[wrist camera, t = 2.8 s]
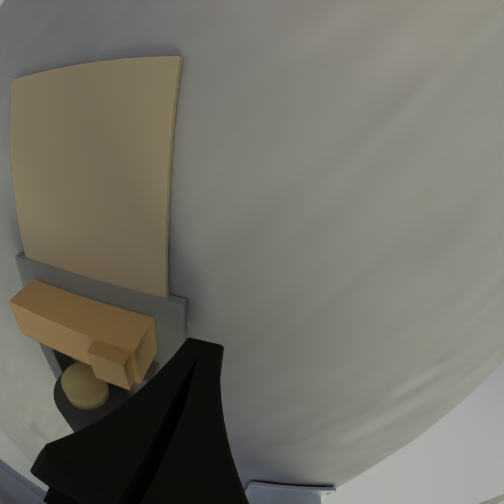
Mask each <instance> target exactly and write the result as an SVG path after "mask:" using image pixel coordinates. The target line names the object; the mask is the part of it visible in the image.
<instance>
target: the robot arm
mask: <svg viewBox="0 0 504 504" xmlns="http://www.w3.org/2000/svg"><path fill="white" fill-rule="evenodd" d="M223 351H224V347H223V346H222V345H220V344H215V343H211V342H206V341H202V340H198V339H194V338H187V339H186V340H185V342H184V343H183V344H182V346H181V347H180V348H179V349H178V351H177V352H176V353H175V354H174V355H173V356H172V358H171V359H170V360H169V361H168V362H167V363H166V364H165V365H164V366H163V367H162V368H161V369H160V370H159V372H158V373H157V374H156V375H155V376H154V377H153V378H152V379H150V380H149V381H148V382H147V383H146V384H145V385H144V386H143V387H142V388H141V389H140V390H138V391H137V392H136V393H135V394H134V395H133V396H131V397H130V398H129V399H128V400H126V401H125V402H124V403H122V404H121V405H120V406H118V407H117V408H115V409H114V410H112V411H111V412H110V413H108V414H107V415H105V416H104V417H102V418H100V419H99V420H97V421H95V422H93V423H92V424H90V425H88V426H86V427H84V428H82V429H80V430H78V431H76V432H74V433H72V434H70V435H68V436H65V437H63V438H60V439H58V440H55V441H53V442H50V443H48V444H46V445H45V447H44V448H43V449H42V451H41V452H40V453H39V455H38V457H37V459H36V460H35V462H34V464H33V466H32V468H31V470H30V471H31V473H32V474H33V475H34V476H35V477H37V478H38V479H39V480H41V481H42V482H43V483H45V484H46V485H48V486H49V489H48V492H46V491H44V490H42V489H41V488H40V487H38V486H37V485H35V484H34V483H32V482H31V481H29V480H28V479H26V478H25V477H24V476H22V475H21V474H19V473H18V472H17V471H15V470H14V469H12V468H11V467H10V466H9V465H7V464H6V463H5V462H4V461H2V460H1V459H0V504H321V501H322V500H324V499H325V498H327V497H328V496H330V495H332V494H333V493H334V492H336V488H334V487H304V486H289V485H278V484H269V483H261V482H250V484H249V485H248V487H247V489H246V491H245V492H244V489H243V487H242V484H241V482H240V479H239V476H238V473H237V470H236V467H235V464H234V460H233V457H232V454H231V450H230V446H229V442H228V438H227V433H226V429H225V423H224V417H223V410H222V402H221V388H220V376H221V367H222V359H223Z"/></svg>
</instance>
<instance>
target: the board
mask: <svg viewBox="0 0 504 504" xmlns="http://www.w3.org/2000/svg"><path fill="white" fill-rule="evenodd" d="M182 61H183V57H182V56H153V57H135V58H123V59H113V60H105V61H97V62H90V63H83V64H77V65H72V66H66V67H61V68H56V69H52V70H47V71H43V72H39V73H35V74H31V75H27V76H23V77H20V78H16V79H13V80H12V87H11V103H10V151H11V167H12V179H13V188H14V197H15V204H16V211H17V217H18V223H19V229H20V234H21V239H22V244H23V248H24V253H25V254H24V253H21V252H20V253H19V254H17V255H16V256H15V257H16V261H17V264H18V268H19V272H20V275H21V279H22V282H23V286H24V287H25V286H26V285H27V284H28V283H29V282H31V281H32V280H33V279H35V280H38V281H41V282H43V283H46V284H49V285H52V286H54V287H57V288H60V289H63V290H66V291H69V292H71V293H74V294H77V295H80V296H83V297H86V298H90V299H93V300H96V301H99V302H102V303H105V304H109V305H112V306H115V307H118V308H122V309H125V310H129V311H132V312H136V313H139V314H143V315H146V316H150V317H154V322H155V333H156V343H157V352H156V354H155V356H154V358H153V360H152V362H151V364H150V366H149V368H148V370H147V372H146V374H145V376H144V378H143V380H142V382H141V384H140V383H137V382H134V384H133V386H132V388H131V390H128V389H125V388H124V389H125V392H126V395H127V398H128V399H129V398H130V397H131V396H133V395H134V394H135V393H136V392H137V391H138V390H140V389H141V388H142V387H143V386H144V385H145V384H146V383H147V382H148V381H149V380H150V379H152V378H153V377H154V376H155V375H156V374H157V373H158V372H159V370H160V369H161V368H162V367H163V366H164V365H165V364H166V363H167V362H168V361H169V360H170V359H171V358H172V356H173V355H174V354H175V353H176V352H177V351H178V349H179V348H180V347H181V346H182V344H183V343H184V342H185V340H186V339H187V299H186V298H182V297H178V296H174V295H169V280H168V239H169V202H170V181H171V164H172V150H173V138H174V127H175V117H176V107H177V98H178V90H179V82H180V75H181V67H182ZM39 343H40V346H41V348H42V350H43V352H44V354H45V357H46V359H47V361H48V363H49V365H50V367H51V369H52V371H53V373H54V375H55V377H56V379H57V380H58V378H59V377H60V375H61V374H62V373H63V372H64V371H65V370H66V369H67V368H68V367H69V366H71V365H73V364H75V363H79V362H82V361H79V360H77V359H75V358H72V357H70V356H68V355H66V354H64V353H61V352H59V351H57V350H55V349H53V348H51V347H49V346H47V345H45V344H43V343H41V342H39Z"/></svg>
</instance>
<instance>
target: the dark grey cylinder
mask: <svg viewBox="0 0 504 504" xmlns="http://www.w3.org/2000/svg"><path fill="white" fill-rule="evenodd" d="M54 400H55V403H56V406H57V408H58V409H59V411H60V412H61V414H62V415H63V417H64V418H65V420H66V421H67V423H68V424H69V425H70V427H71V428H72V430H73V431H74V432H76V431H78V430H80V429H82V428H84V427H86V426H88V425H90V424H92V423H93V422H95V421H97V420H99V419H100V418H102V417H104V416H105V415H107V414H108V413H110V412H111V411H112V410H114V409H115V408H117V407H118V406H120V405H121V404H122V403H124V402H125V401H126V400H128V398H127V395H126V392H125V389H124V388H122V387H120V386H117V385H114V384H112V383H109V382H106V381H104V380H101V379H99V378H96V376H95V373H94V371H93V368H92V366H91V365H89V364H87V363H84V362H79V363H75V364H73V365H71V366H69V367H68V368H67V369H66V370H65V371H64V372H63V373H62V374H61V375H60V377H59V378H58V380H57V382H56V384H55V387H54Z"/></svg>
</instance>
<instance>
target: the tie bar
mask: <svg viewBox="0 0 504 504" xmlns="http://www.w3.org/2000/svg"><path fill="white" fill-rule="evenodd" d="M9 302H10V304H11V307H12V310H13V312H14V315H15V317H16V320H17V322H18V325H19V327H20V329H21V332H22V333H23V334H25V335H27V336H29V337H31V338H33V339H35V340H37V341H39V342H41V343H43V344H45V345H47V346H49V347H51V348H53V349H55V350H57V351H59V352H61V353H64V354H66V355H68V356H70V357H72V358H75V359H77V360H79V361H82V362H84V363H87V364H89V365H91V366H92V368H93V371H94V373H95V376H96V378H99V379H101V380H104V381H106V382H109V383H112V384H114V385H117V386H120V387H122V388H125V389H128V390H131V388H132V386H133V384H134V382H137V383H140V384H141V382H142V380H143V378H144V376H145V374H146V372H147V370H148V368H149V366H150V364H151V362H152V360H153V358H154V356H155V354H156V352H157V343H156V333H155V322H154V317H150V316H146V315H143V314H139V313H136V312H132V311H129V310H125V309H122V308H118V307H115V306H112V305H109V304H105V303H102V302H99V301H96V300H93V299H90V298H86V297H83V296H80V295H77V294H74V293H71V292H69V291H66V290H63V289H60V288H57V287H54V286H52V285H49V284H46V283H43V282H41V281H38V280H35V279H33V280H32V281H31V282H29V283H28V284H27V285H26V286H25V287H24V288H23V289H22V290H21V291H20V292H19V293H17V294H16V295H15V296H14V297H13V298H12V299H11V300H10V301H9Z"/></svg>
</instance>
